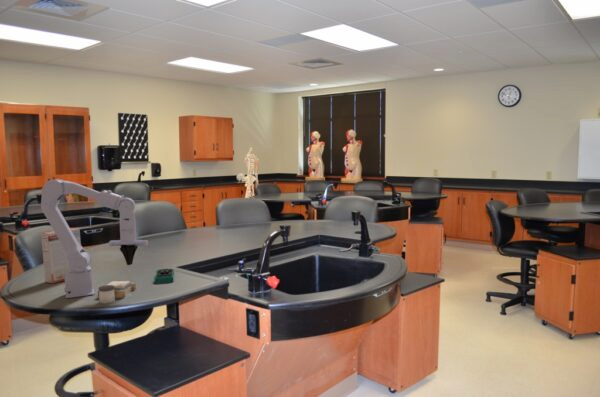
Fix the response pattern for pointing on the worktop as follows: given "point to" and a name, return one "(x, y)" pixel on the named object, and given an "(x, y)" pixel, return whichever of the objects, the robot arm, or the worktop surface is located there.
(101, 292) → the jar
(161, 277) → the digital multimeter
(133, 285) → the display stand
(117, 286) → the carton
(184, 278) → the worktop surface
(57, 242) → the cracker box
